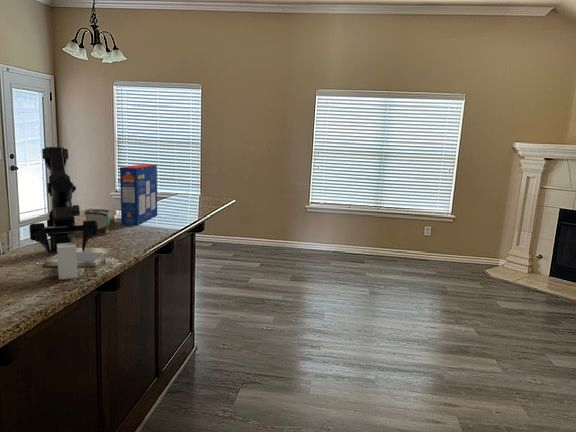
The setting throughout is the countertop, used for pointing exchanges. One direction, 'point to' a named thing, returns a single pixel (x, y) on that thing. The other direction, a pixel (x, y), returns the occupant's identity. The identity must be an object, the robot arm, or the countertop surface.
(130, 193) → the pasta box
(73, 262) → the grey post
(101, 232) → the food container
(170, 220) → the countertop surface
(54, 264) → the board
